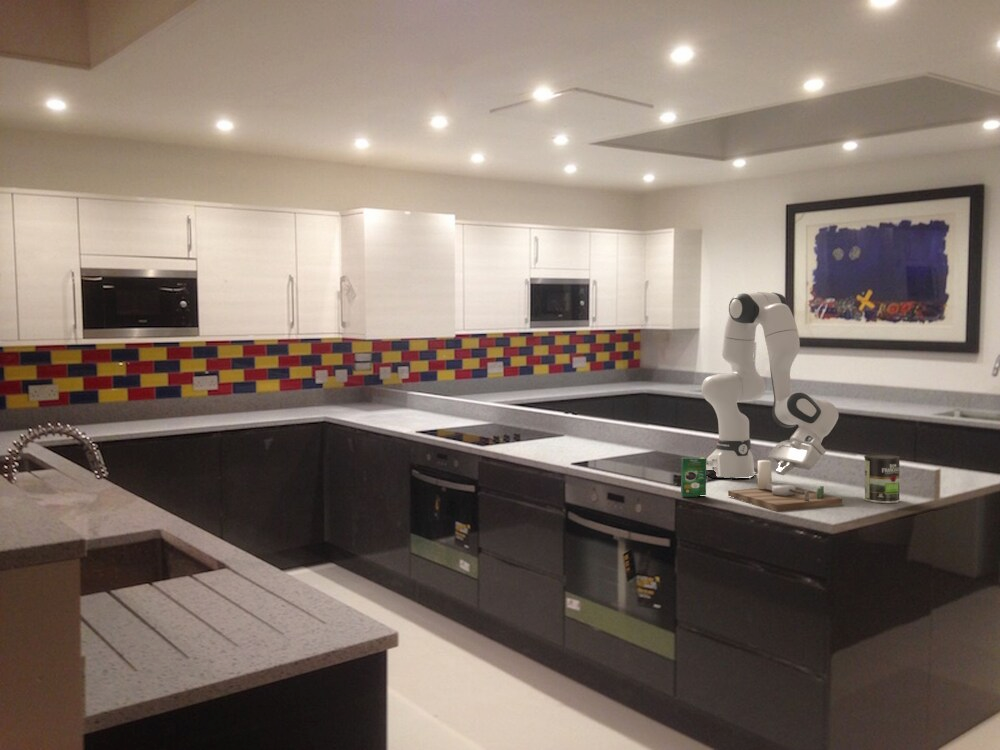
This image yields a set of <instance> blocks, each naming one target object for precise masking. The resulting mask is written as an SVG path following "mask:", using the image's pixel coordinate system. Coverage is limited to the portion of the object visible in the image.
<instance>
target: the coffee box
mask: <svg viewBox="0 0 1000 750" xmlns="http://www.w3.org/2000/svg"><path fill="white" fill-rule="evenodd" d="M706 460H707V458H705V457H681V461H680V462H681V464H680V467H681V469H680V470H681V471H680V472H681V473H680V497H682V498H699V497H698V496H700V495H706V496H707V476H706Z"/></svg>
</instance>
